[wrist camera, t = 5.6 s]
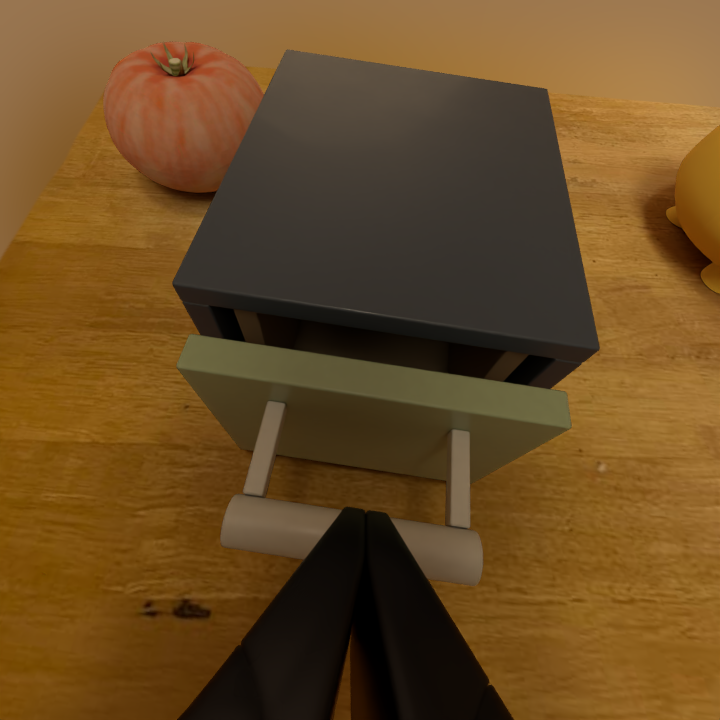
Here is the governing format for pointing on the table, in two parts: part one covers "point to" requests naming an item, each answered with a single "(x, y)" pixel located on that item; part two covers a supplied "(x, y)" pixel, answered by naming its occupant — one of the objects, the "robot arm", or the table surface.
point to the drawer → (366, 425)
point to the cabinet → (398, 215)
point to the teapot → (701, 203)
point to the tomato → (180, 112)
